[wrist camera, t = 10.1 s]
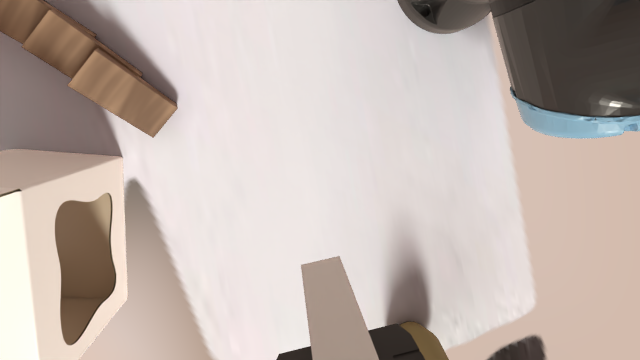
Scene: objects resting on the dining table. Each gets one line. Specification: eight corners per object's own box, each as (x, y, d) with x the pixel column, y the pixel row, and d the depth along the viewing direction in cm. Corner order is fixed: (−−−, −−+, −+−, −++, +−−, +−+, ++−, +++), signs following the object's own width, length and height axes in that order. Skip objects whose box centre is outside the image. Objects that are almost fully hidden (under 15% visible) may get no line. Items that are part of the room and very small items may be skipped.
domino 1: (94, 36, 37) (-18, -35, 31) (72, 71, 38) (-41, 8, 32) (96, 34, 39) (-9, -33, 33) (76, 68, 40) (-31, 8, 34)
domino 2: (141, 76, 39) (49, 9, 33) (116, 106, 39) (21, 46, 34) (142, 72, 41) (55, 9, 35) (118, 102, 41) (28, 44, 35)
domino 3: (177, 108, 40) (94, 50, 34) (153, 137, 41) (67, 85, 35) (176, 103, 42) (97, 47, 36) (153, 131, 42) (71, 81, 36)
